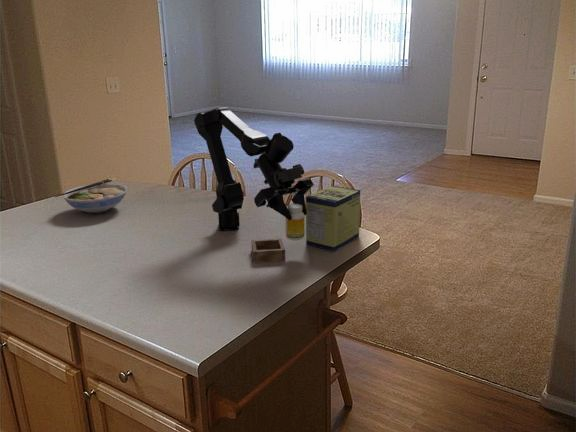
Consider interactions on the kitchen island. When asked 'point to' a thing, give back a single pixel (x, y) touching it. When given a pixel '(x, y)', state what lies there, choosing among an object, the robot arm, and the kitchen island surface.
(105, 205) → the ramen bowl
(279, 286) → the kitchen island surface
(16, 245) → the kitchen island surface
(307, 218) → the protein box
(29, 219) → the kitchen island surface
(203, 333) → the kitchen island surface
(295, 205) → the supplement bottle
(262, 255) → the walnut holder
